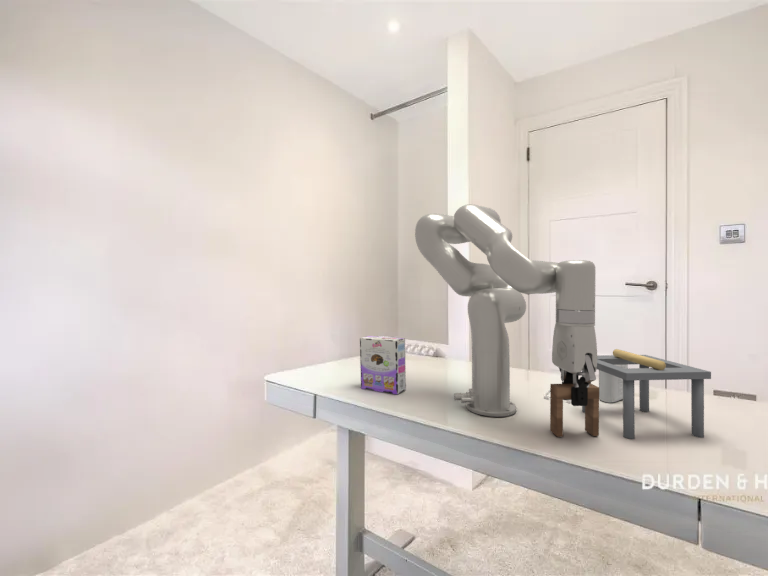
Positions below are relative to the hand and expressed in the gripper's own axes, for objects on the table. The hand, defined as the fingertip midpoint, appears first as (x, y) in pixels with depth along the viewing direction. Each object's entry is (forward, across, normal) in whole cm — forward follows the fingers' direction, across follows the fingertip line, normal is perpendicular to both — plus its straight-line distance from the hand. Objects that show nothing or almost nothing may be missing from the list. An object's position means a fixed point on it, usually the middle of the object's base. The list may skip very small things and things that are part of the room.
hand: (574, 401), depth 77 cm
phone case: (+8, -28, +12) cm, 31 cm away
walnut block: (+7, 0, 0) cm, 7 cm away
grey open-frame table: (+7, -6, +18) cm, 20 cm away
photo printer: (+8, -23, +24) cm, 34 cm away
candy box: (+8, -36, -41) cm, 55 cm away
